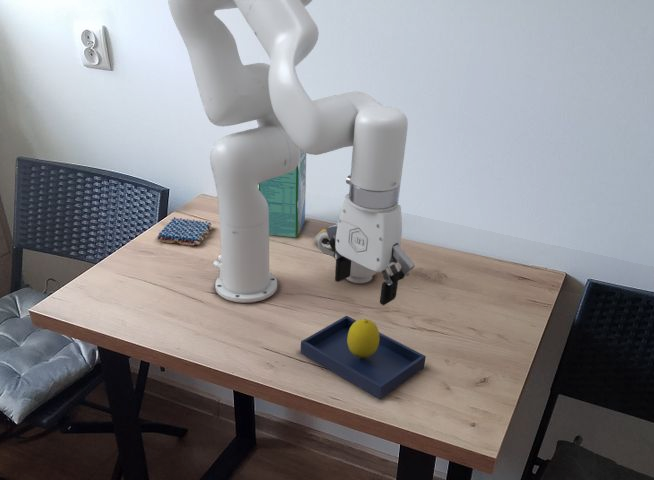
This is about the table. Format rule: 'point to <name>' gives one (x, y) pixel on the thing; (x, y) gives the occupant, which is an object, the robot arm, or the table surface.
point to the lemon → (363, 338)
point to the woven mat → (184, 231)
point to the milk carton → (286, 200)
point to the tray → (363, 359)
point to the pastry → (325, 241)
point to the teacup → (357, 271)
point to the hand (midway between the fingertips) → (364, 289)
